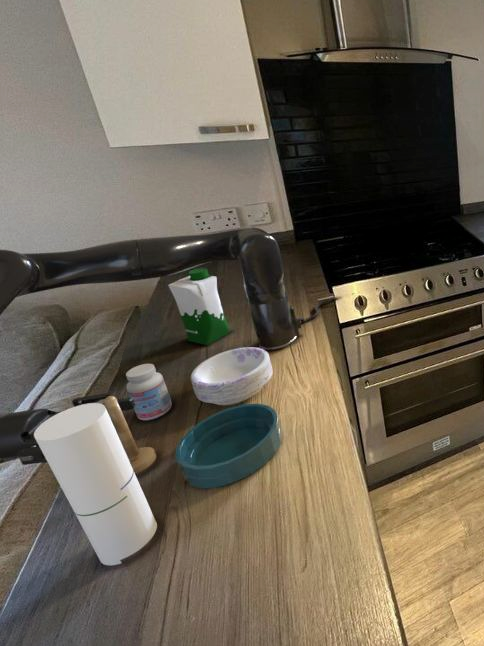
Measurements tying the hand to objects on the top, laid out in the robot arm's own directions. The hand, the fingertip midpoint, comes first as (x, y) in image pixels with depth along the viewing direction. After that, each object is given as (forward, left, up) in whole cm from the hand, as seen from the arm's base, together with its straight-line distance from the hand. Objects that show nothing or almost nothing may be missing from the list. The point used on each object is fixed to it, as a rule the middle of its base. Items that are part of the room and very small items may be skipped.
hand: (119, 419), depth 80 cm
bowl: (-11, +13, -11) cm, 21 cm away
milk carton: (-29, -38, -12) cm, 49 cm away
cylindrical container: (+7, +17, -12) cm, 22 cm away
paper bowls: (-21, -6, -12) cm, 25 cm away
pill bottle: (-8, -15, -12) cm, 21 cm away
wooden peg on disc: (0, 0, -11) cm, 12 cm away
